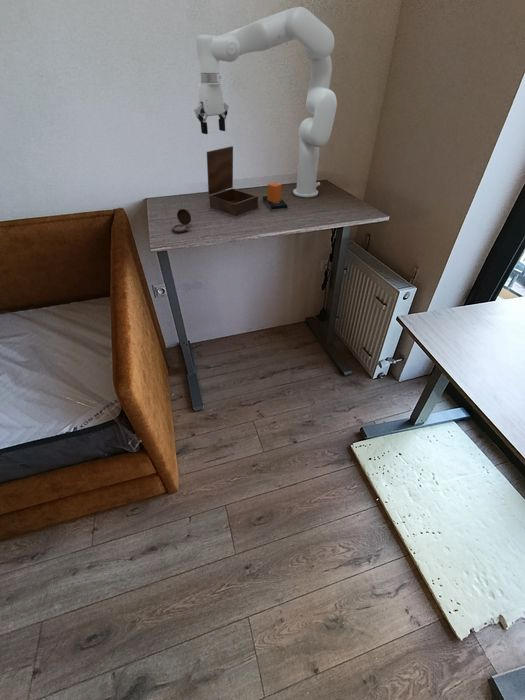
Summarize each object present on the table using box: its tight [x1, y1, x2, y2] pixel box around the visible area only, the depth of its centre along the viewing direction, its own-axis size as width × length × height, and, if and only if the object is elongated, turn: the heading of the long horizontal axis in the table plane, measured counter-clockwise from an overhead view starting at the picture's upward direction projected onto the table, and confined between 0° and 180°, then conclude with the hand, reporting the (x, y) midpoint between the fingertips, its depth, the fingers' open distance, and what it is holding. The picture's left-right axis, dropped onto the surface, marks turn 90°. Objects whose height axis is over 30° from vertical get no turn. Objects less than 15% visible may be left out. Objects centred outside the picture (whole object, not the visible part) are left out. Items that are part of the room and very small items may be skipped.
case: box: [208, 187, 259, 217], centre depth 150 cm, size 16×14×6 cm
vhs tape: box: [262, 195, 288, 210], centre depth 156 cm, size 8×14×2 cm, turn 16°
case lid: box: [206, 145, 234, 196], centre depth 147 cm, size 17×14×5 cm
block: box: [267, 182, 283, 203], centre depth 153 cm, size 4×4×7 cm
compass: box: [171, 208, 192, 234], centre depth 132 cm, size 8×8×7 cm
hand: (213, 132), depth 138 cm, fingers open, 9 cm apart
